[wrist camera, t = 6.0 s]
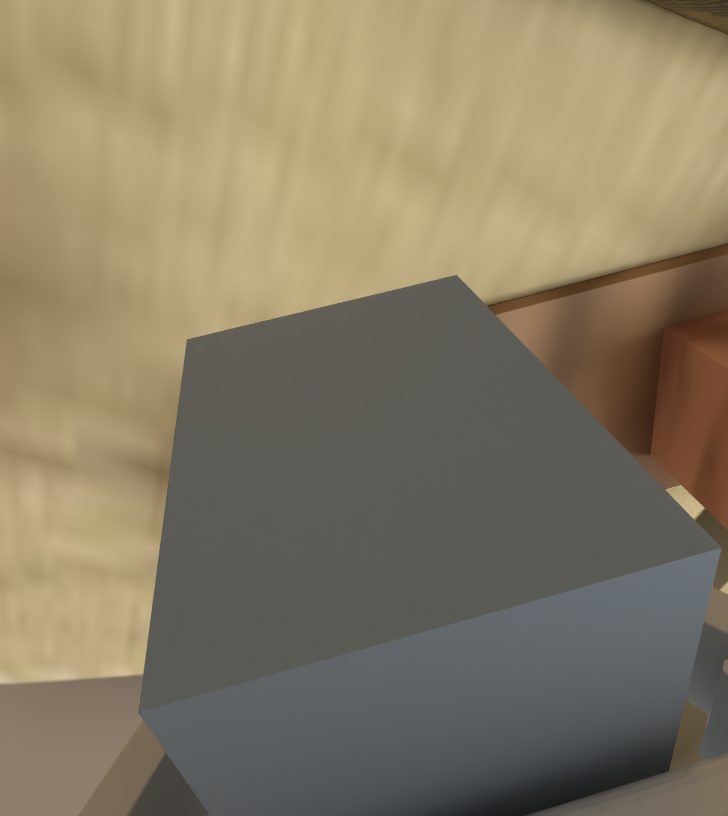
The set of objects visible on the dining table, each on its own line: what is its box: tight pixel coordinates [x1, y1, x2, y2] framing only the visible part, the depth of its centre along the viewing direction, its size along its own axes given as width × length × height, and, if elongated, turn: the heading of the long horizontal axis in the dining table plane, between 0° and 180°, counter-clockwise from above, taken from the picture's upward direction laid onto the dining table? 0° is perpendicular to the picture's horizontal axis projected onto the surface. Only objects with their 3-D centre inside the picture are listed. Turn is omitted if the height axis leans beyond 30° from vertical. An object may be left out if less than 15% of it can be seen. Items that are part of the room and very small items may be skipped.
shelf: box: [488, 244, 728, 530], centre depth 27 cm, size 31×14×11 cm, turn 101°
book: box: [139, 275, 721, 816], centre depth 10 cm, size 5×9×7 cm, turn 10°
